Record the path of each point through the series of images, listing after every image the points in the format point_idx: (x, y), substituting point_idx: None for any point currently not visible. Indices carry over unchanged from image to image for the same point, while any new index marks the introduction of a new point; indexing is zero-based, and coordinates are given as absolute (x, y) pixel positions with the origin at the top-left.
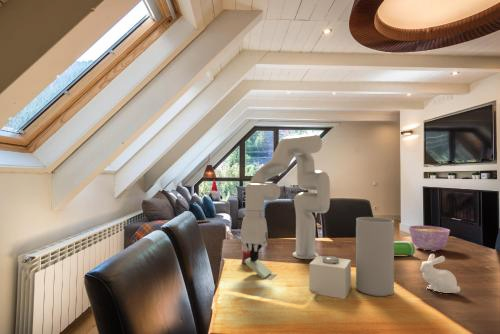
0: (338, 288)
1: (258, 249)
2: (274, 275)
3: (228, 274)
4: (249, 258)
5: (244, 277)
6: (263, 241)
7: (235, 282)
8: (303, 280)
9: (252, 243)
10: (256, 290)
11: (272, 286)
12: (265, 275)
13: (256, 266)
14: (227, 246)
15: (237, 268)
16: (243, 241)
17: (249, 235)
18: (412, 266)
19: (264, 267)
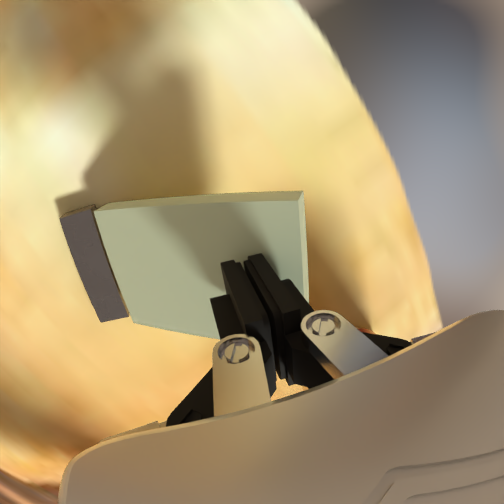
0: None
1: (203, 379)
2: (101, 299)
3: (366, 167)
4: (293, 273)
5: (259, 178)
6: (59, 498)
7: (251, 63)
8: (5, 344)
9: (308, 391)
10: (58, 45)
11: (22, 165)
12: (103, 229)
13: (187, 243)
14: None
15: (370, 279)
16: (482, 317)
17: (478, 490)
18: (14, 496)
19: (169, 310)
